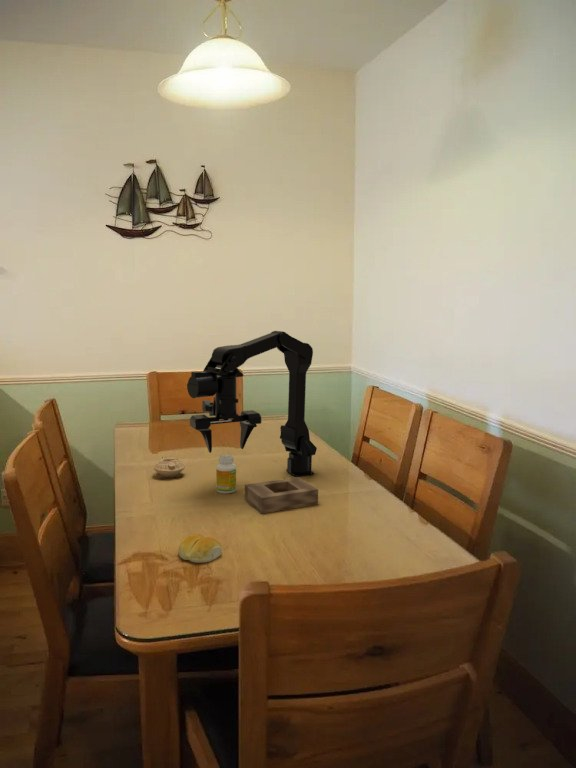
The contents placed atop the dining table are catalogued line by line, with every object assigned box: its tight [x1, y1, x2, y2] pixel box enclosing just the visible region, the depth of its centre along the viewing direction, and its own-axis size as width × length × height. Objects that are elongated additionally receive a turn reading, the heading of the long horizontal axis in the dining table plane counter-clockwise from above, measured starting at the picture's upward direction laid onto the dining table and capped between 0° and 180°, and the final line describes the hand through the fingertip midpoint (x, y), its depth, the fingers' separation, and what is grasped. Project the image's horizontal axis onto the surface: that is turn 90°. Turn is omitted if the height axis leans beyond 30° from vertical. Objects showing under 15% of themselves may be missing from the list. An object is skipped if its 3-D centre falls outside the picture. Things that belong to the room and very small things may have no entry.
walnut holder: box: [244, 476, 319, 514], centre depth 158 cm, size 16×11×4 cm
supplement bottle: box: [215, 454, 237, 494], centre depth 165 cm, size 5×5×10 cm
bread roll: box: [177, 533, 223, 564], centre depth 126 cm, size 8×9×4 cm
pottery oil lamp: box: [152, 455, 186, 478], centre depth 180 cm, size 9×12×7 cm
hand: (226, 450), depth 164 cm, fingers open, 9 cm apart
